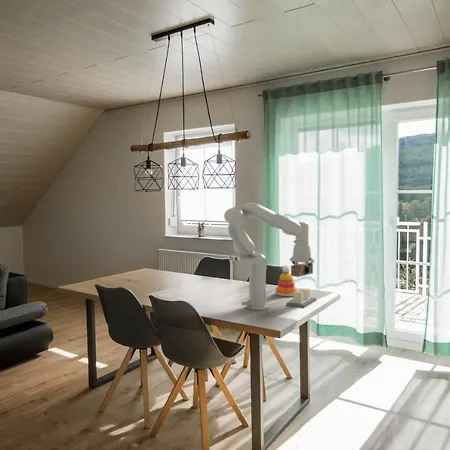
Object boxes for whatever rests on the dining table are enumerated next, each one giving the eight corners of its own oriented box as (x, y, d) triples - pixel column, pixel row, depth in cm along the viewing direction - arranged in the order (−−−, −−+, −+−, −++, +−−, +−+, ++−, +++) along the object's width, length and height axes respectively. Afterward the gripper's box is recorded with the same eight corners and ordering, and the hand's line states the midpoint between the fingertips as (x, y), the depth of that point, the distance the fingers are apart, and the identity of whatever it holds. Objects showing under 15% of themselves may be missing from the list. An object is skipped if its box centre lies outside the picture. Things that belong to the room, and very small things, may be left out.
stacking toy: (279, 291, 290) (279, 262, 288) (300, 293, 283) (300, 264, 282) (271, 295, 277) (271, 265, 276) (292, 298, 270) (293, 267, 269)
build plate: (304, 307, 248) (304, 294, 247) (286, 305, 253) (286, 292, 253) (316, 300, 264) (316, 288, 264) (299, 298, 270) (299, 286, 270)
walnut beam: (297, 276, 251) (297, 266, 250) (291, 275, 254) (291, 265, 254) (312, 273, 261) (312, 263, 261) (305, 272, 265) (305, 262, 264)
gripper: (286, 242, 258) (286, 272, 259) (313, 244, 249) (313, 275, 250) (291, 241, 264) (291, 270, 265) (318, 242, 255) (318, 273, 256)
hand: (302, 272), depth 258 cm, fingers closed on walnut beam, 5 cm apart
